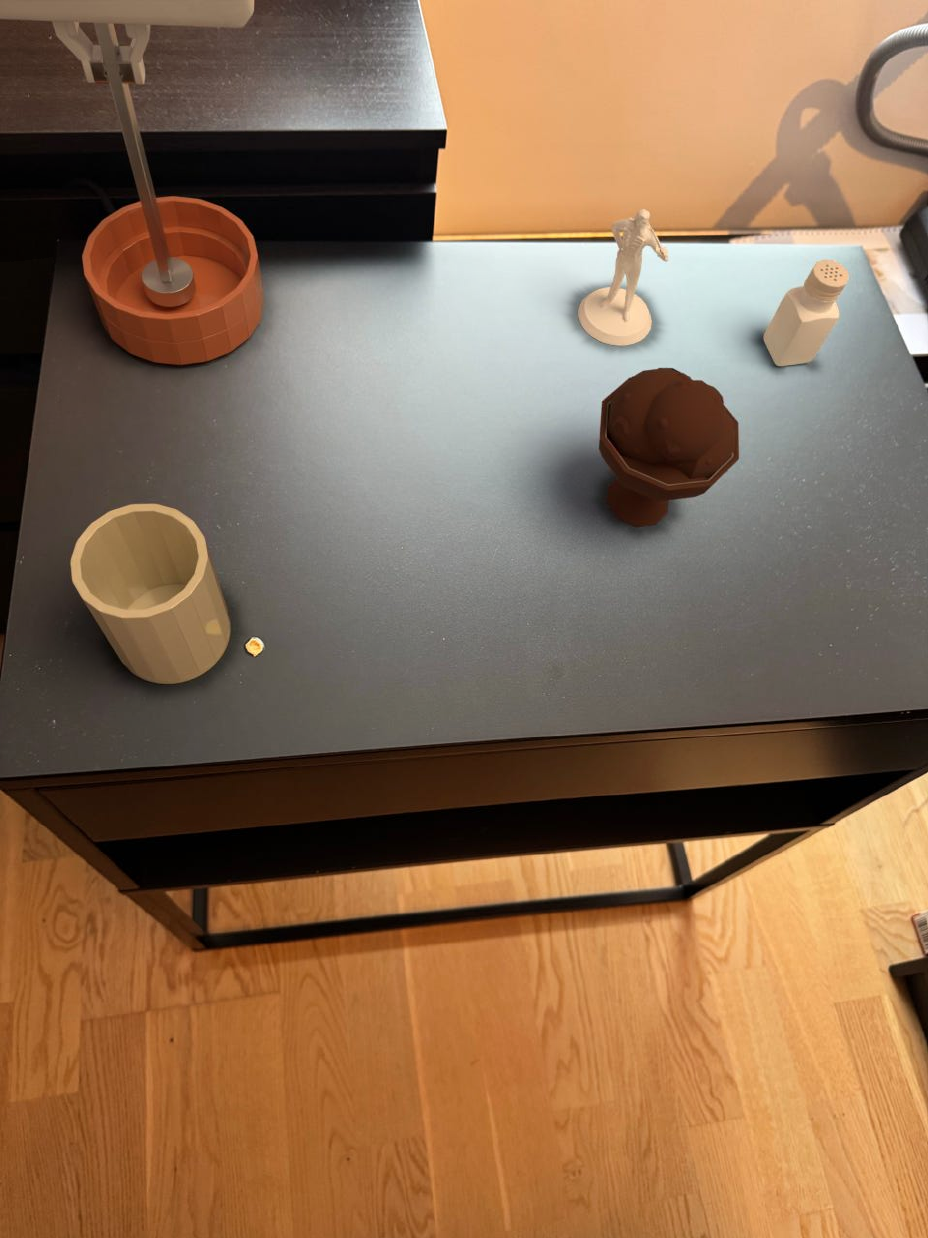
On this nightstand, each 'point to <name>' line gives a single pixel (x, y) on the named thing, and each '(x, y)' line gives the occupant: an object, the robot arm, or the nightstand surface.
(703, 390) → the ice cream bowl
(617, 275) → the figurine
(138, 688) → the nightstand surface
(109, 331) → the bowl
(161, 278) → the metal stirring rod
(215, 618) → the crock
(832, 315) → the salt shaker
